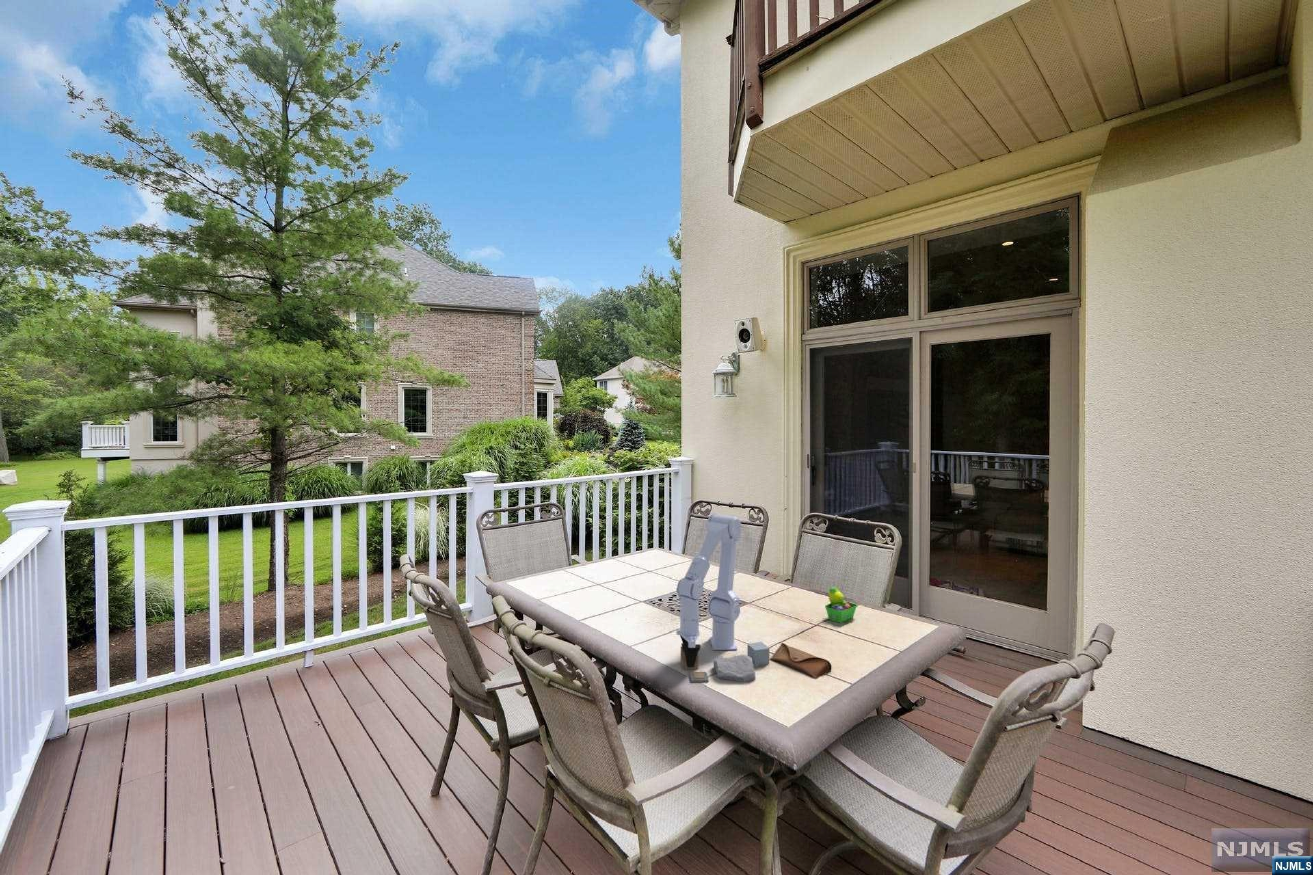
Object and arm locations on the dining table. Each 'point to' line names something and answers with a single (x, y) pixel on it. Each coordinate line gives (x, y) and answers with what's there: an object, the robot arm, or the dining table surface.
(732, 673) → the stone block
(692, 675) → the tile
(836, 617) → the fruit basket
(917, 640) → the dining table surface
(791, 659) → the sunglasses case
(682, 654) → the walnut cube
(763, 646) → the blue-grey cube
